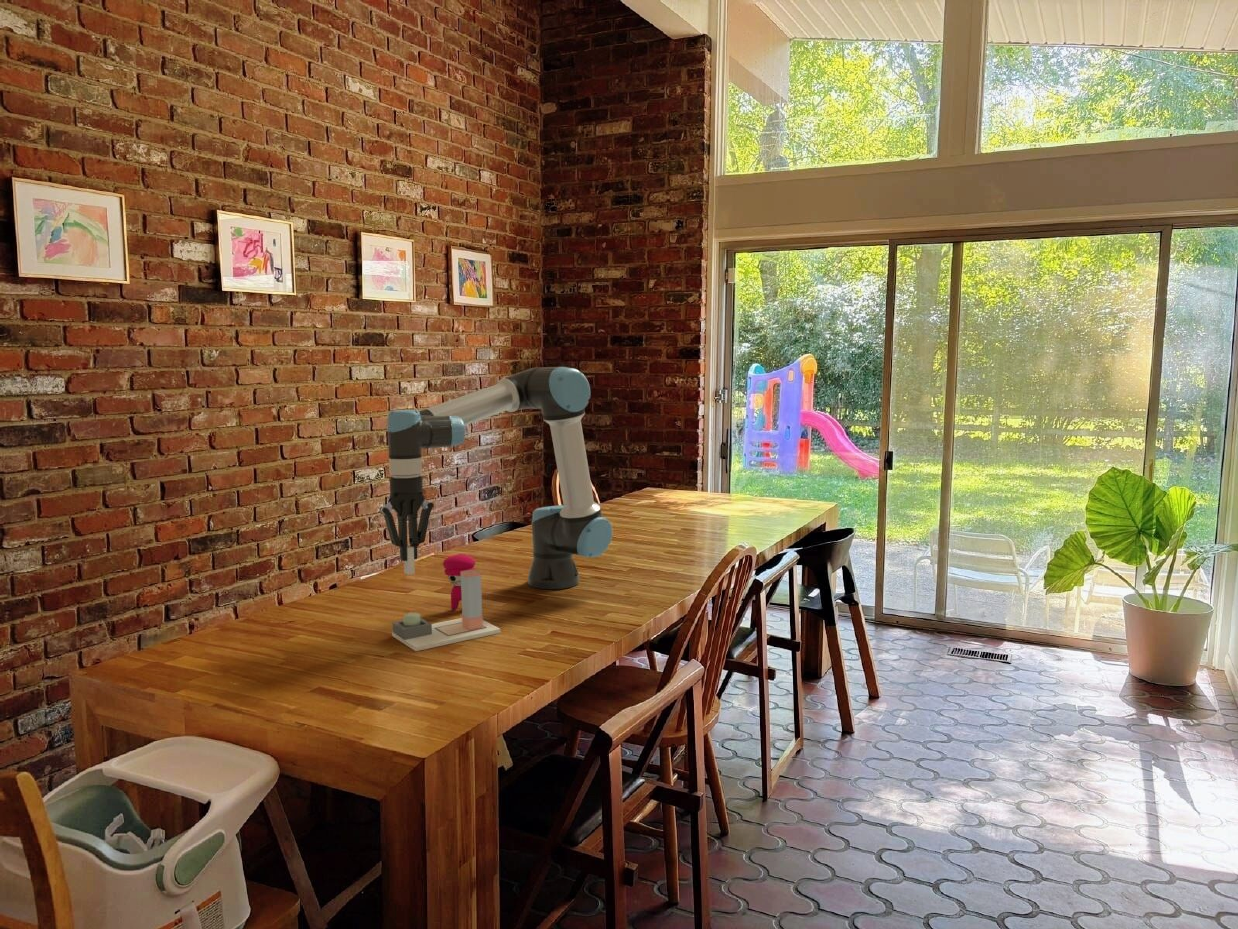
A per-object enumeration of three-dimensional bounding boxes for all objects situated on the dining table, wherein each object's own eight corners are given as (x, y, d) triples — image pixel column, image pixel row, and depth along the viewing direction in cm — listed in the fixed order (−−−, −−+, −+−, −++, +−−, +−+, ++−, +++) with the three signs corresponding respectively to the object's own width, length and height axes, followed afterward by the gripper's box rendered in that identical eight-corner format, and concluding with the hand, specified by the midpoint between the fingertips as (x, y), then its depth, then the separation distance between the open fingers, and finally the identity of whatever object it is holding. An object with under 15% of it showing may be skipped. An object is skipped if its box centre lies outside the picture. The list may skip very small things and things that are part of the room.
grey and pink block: (475, 624, 219) (474, 569, 217) (482, 627, 216) (481, 572, 214) (462, 627, 217) (460, 571, 215) (469, 630, 214) (467, 574, 212)
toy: (445, 615, 230) (443, 559, 228) (443, 606, 238) (441, 552, 236) (478, 612, 232) (476, 557, 231) (475, 604, 240) (473, 550, 238)
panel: (474, 619, 227) (474, 606, 226) (500, 632, 215) (500, 619, 215) (392, 636, 214) (391, 622, 213) (415, 651, 203) (414, 636, 202)
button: (416, 623, 215) (416, 611, 215) (423, 627, 212) (422, 615, 212) (401, 626, 213) (400, 614, 212) (407, 631, 210) (407, 618, 209)
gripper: (425, 471, 215) (428, 566, 217) (373, 476, 207) (377, 574, 210) (438, 474, 208) (441, 572, 211) (385, 479, 201) (389, 580, 204)
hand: (409, 573), depth 211 cm, fingers closed
